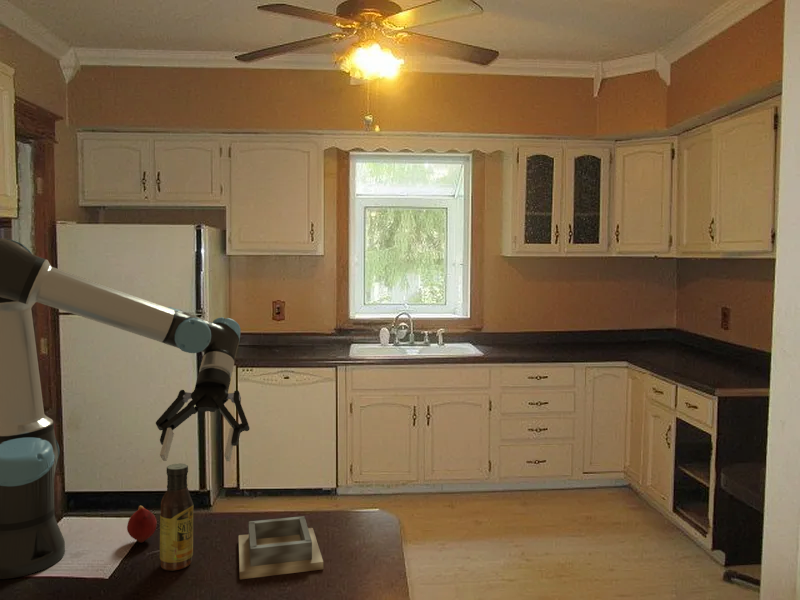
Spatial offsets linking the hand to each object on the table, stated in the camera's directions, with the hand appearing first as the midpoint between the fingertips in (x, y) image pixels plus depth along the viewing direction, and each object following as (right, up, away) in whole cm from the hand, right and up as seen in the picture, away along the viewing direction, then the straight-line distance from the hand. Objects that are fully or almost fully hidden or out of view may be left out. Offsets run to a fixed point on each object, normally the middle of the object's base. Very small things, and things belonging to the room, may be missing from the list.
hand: (195, 458), depth 129 cm
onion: (-12, -18, +1) cm, 22 cm away
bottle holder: (+19, -19, -4) cm, 27 cm away
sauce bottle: (-1, -19, -9) cm, 21 cm away
